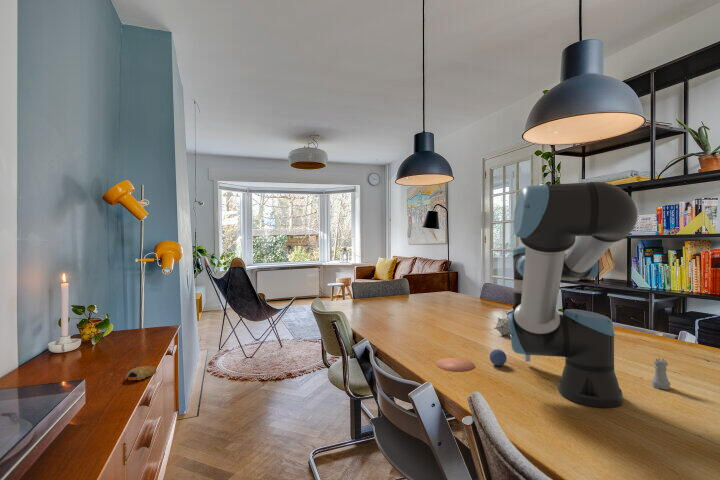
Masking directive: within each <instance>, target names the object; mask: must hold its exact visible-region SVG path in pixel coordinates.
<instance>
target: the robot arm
mask: <svg viewBox="0 0 720 480" xmlns="http://www.w3.org/2000/svg"><path fill="white" fill-rule="evenodd" d="M637 221H638V208H637V206H636V203H635V202H634V200H633V198H632V197H631V196H630V195H629V193H628V192H626V191H625V190H624V189H622V188H620V187H619V186H617V185H614V184H612V183H608V182H605V181H590V182H573V183H571V182H569V183H555V184H546V183H541V184H537V185H527V186H525V187H523V188H522V189H521V190H520V191H519V193H518V195H517V199H516V203H515V205H514V216H513V231H514V234H515V236H516V237H518V238H519V240H520V242H521V243H522V245H524V246H516V247H513V250H512V251H513V252H512V258H513V259H512V260H513V261H512V263H513V264H512V265H513V291H514V292H513V306H512V309H510V310H509V311H508V310H507V311H505V314H506V317H508V321H509V329H510V334H509V335H510V343H511V349H512V351H513V352H514V353H515V354H519V355H522V358H523V360H524V361H525V362H527V363H528V362H531V356H542V357H558V358H559V357H561V358H565V359H564V360H565V362H564V367H563V371H562V374H561V378H560V379H559V381H558V392H559V394H560V395H561V396H562V397H564V398H566V399H567V400H569V401H572V402H574V403H577V404H581V405H584V406H587V407H594V408H595V407H596V408H616V407H620V406H621V405H622V404H623V403H622V402H623V401H624V399H623V392H622V389H621V387H620V385H619V381H618V378H617V375H616V372H615V337H616V336H615V330H614V322H613V321H612V319H611V318H609V317H608V316H606V315H604V314H600V313H598V312H593V311H589V310H583V309H577V308H567V309H565V310H564V311H563V314H559V312H558V311H557V306H558V305H557V304H558V298H559V291H560V285H561V280H562V279H572V280H573V279H574V280H575V279H580V280H586V279H595V278H596V277H597V276H598V273H599V267H600V266H599V260H600V259H601V258H602V256H604V255H605V254H606V252H607V251H608V250H609V249H610V248H611V246H613V245H614V244H615V243H617V242H620V241H622V240H624V239H625V238H626V237H628V235H629V234H630V233H631V232H632V231H633V230H634V229H635V227H636V224H637ZM566 251H567V252H566Z"/></svg>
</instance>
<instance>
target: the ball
mask: <svg viewBox="0 0 720 480" xmlns="http://www.w3.org/2000/svg"><path fill="white" fill-rule="evenodd" d="M507 359H508V358H507V354H506V353H505V352H504V350H502V349H499V348H497V349H496V348H495V349H493V350H491V352H490V354H489V360H490V362H491V363H492V364H493V365H495V366H497V367H498V366H499V367H500V366H501V367H502V366H504V365H505V364H506V363H507Z"/></svg>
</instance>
